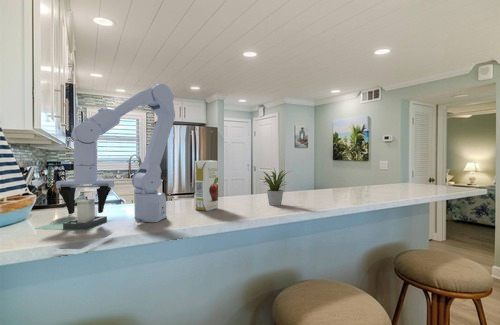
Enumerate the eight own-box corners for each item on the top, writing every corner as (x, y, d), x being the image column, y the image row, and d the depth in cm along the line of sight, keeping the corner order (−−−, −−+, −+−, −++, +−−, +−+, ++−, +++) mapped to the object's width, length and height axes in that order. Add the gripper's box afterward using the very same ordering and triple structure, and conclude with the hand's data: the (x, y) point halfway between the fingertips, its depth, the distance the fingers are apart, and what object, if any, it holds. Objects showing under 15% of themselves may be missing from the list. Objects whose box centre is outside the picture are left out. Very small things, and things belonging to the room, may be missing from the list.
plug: (89, 226, 79) (88, 201, 79) (77, 226, 78) (77, 201, 78) (95, 222, 84) (95, 198, 84) (84, 222, 83) (84, 198, 83)
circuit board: (112, 223, 87) (112, 215, 87) (86, 233, 75) (86, 224, 75) (67, 222, 88) (66, 214, 88) (34, 232, 76) (34, 223, 76)
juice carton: (191, 209, 109) (191, 160, 108) (205, 206, 116) (205, 160, 116) (207, 211, 105) (207, 160, 105) (220, 208, 113) (220, 160, 112)
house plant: (293, 202, 127) (294, 166, 127) (295, 207, 113) (296, 167, 113) (262, 201, 129) (262, 165, 128) (260, 207, 115) (260, 167, 114)
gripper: (116, 164, 86) (117, 209, 86) (63, 165, 83) (64, 211, 83) (109, 165, 79) (110, 213, 79) (51, 165, 76) (52, 216, 76)
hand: (86, 212), depth 81 cm, fingers open, 7 cm apart
